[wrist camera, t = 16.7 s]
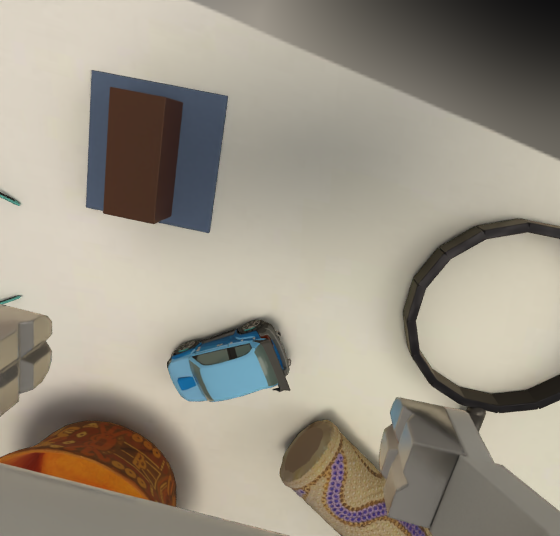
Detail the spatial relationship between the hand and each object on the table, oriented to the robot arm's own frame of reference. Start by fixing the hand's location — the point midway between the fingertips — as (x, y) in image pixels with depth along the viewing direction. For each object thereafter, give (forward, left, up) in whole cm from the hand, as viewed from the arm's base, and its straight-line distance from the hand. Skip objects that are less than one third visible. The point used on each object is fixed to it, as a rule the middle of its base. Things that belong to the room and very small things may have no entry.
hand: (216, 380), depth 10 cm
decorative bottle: (+30, +14, -29) cm, 44 cm away
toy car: (+16, -4, -29) cm, 33 cm away
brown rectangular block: (-2, -14, -28) cm, 32 cm away
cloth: (-2, -14, -29) cm, 32 cm away
